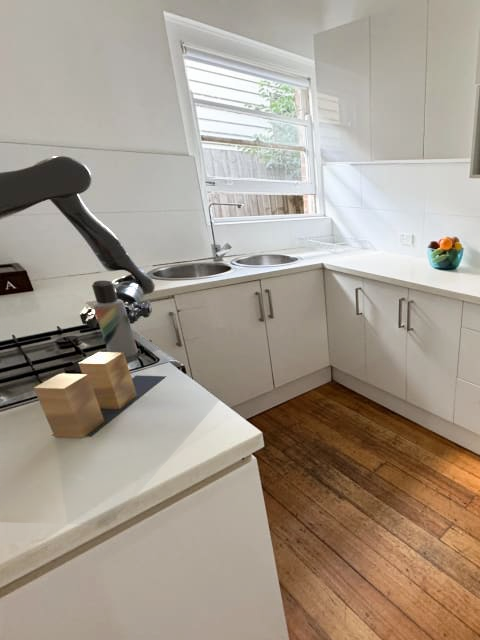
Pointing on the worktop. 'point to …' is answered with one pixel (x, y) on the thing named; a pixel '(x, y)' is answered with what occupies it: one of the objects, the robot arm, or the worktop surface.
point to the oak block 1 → (70, 405)
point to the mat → (141, 387)
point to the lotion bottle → (113, 320)
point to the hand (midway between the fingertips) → (111, 321)
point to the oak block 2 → (109, 379)
